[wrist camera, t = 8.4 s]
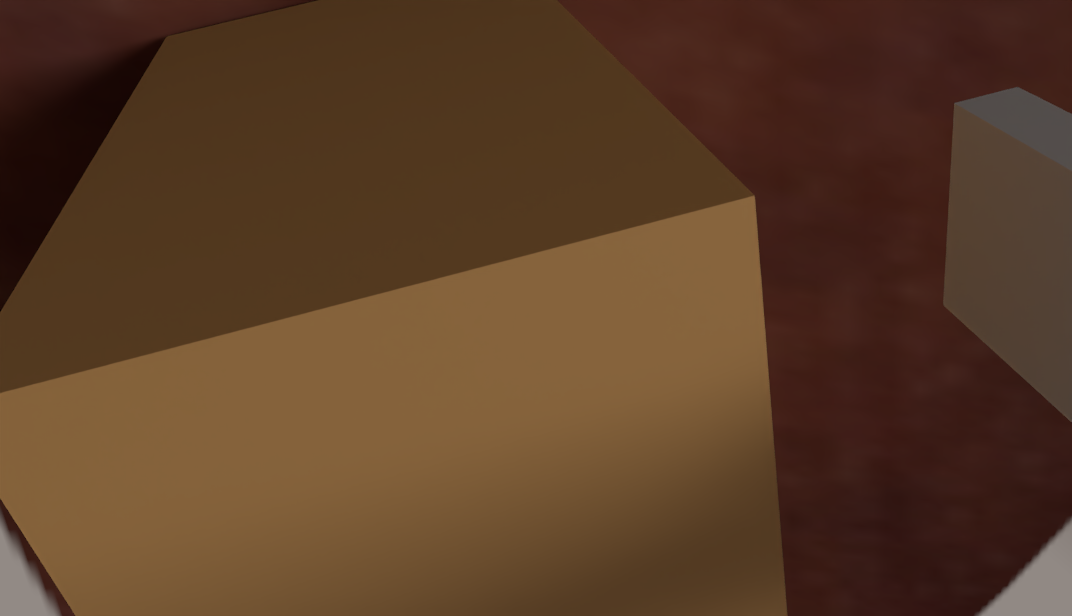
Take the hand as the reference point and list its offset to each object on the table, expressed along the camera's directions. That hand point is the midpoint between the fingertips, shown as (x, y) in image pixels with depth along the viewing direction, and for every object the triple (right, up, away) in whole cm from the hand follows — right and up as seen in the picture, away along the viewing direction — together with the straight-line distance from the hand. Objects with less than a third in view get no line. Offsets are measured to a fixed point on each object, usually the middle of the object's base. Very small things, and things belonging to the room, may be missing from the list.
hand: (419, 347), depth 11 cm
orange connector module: (-1, +3, +7) cm, 8 cm away
